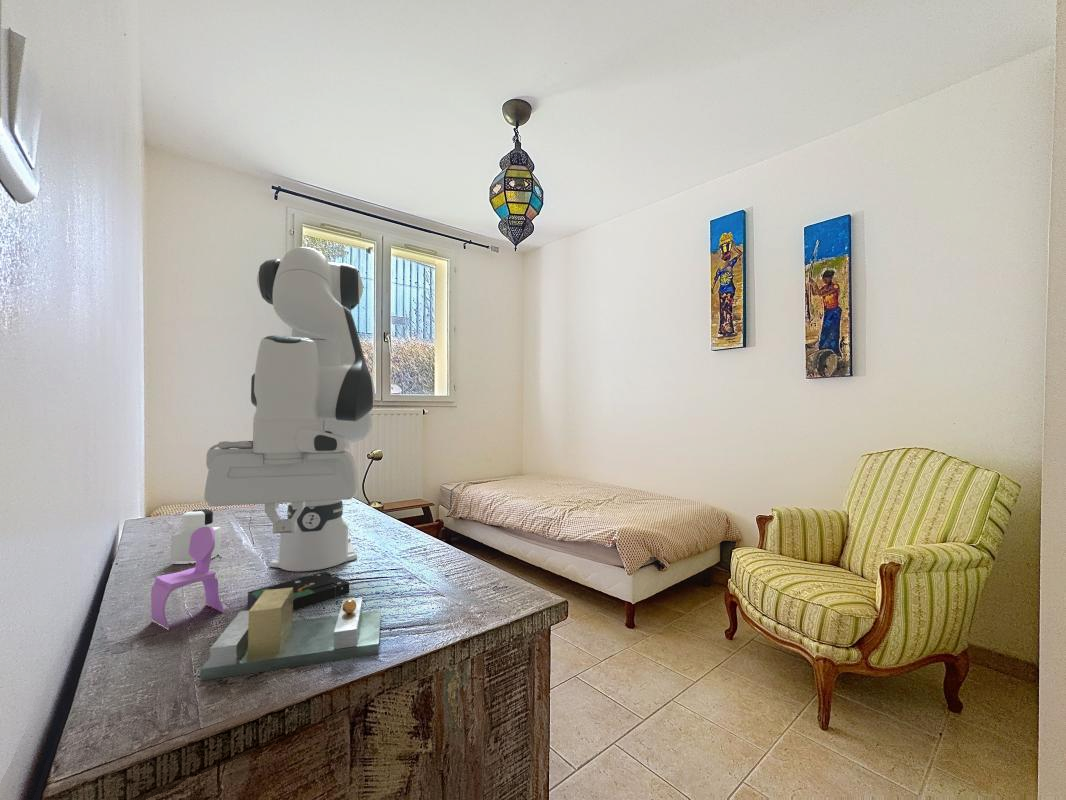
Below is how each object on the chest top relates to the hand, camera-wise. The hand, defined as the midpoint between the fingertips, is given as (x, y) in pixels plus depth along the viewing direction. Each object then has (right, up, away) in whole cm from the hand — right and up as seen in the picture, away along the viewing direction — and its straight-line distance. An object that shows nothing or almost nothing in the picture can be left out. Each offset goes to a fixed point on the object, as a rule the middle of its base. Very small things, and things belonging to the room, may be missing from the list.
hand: (284, 532), depth 67 cm
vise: (+3, -17, 0) cm, 17 cm away
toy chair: (-23, -18, +10) cm, 31 cm away
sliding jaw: (+9, -16, +2) cm, 18 cm away
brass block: (-1, -16, -1) cm, 16 cm away
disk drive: (-7, -19, +18) cm, 27 cm away
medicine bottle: (-45, -19, +42) cm, 64 cm away
